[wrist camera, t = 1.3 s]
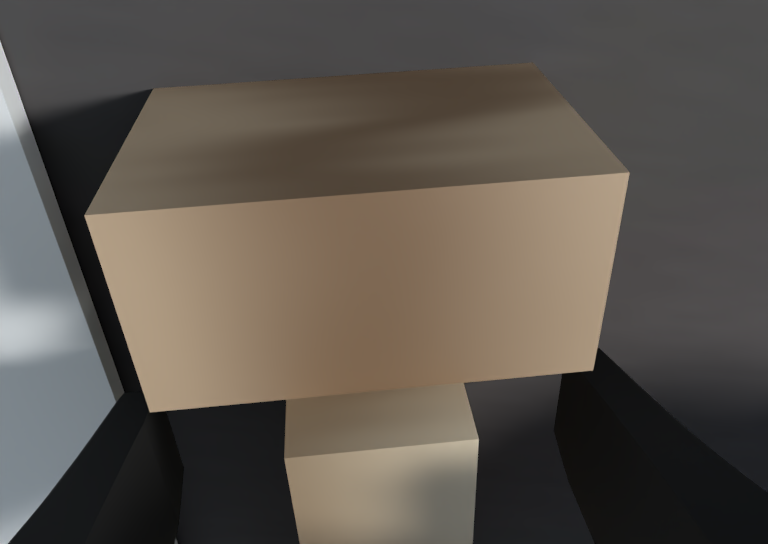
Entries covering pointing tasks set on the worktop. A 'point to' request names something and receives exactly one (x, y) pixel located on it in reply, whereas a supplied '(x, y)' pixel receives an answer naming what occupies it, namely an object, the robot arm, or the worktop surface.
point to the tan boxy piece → (361, 271)
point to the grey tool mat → (41, 329)
